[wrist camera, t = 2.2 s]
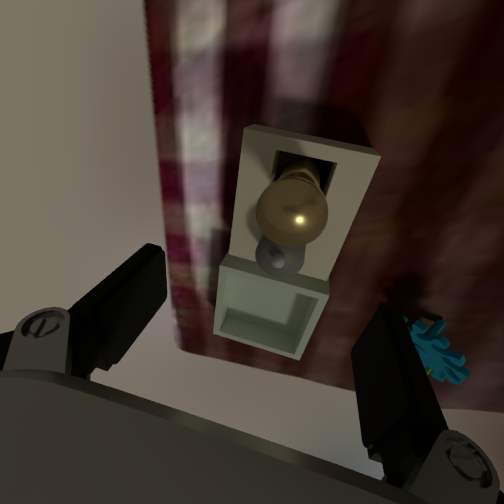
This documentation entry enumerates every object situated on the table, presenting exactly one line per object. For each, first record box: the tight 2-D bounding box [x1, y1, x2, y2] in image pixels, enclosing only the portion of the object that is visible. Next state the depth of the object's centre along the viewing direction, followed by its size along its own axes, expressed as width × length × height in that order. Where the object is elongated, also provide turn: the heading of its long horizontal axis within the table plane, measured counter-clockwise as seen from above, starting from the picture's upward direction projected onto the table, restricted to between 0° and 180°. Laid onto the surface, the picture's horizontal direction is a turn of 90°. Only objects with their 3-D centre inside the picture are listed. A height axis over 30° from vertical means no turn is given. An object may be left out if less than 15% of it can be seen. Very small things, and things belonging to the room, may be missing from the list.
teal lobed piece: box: [403, 316, 471, 385], centre depth 31 cm, size 11×6×10 cm
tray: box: [213, 251, 330, 360], centre depth 36 cm, size 14×14×4 cm
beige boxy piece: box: [229, 124, 381, 281], centre depth 25 cm, size 14×12×8 cm
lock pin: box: [255, 156, 328, 247], centre depth 22 cm, size 5×5×11 cm
